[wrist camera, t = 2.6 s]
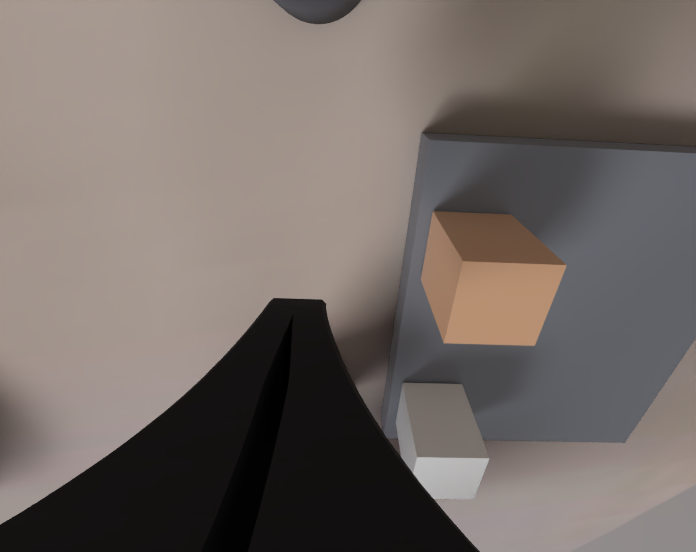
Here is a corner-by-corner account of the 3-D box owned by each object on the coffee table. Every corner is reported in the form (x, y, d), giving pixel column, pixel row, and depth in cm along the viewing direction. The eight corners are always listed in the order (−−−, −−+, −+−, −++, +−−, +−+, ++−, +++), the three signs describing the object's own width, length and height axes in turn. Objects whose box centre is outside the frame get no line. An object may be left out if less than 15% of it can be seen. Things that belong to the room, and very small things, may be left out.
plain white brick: (450, 423, 20) (473, 499, 17) (395, 422, 20) (407, 498, 16) (462, 384, 18) (489, 458, 15) (402, 382, 18) (416, 457, 15)
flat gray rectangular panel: (608, 420, 23) (624, 442, 21) (380, 416, 22) (383, 438, 21) (774, 150, 14) (816, 159, 13) (421, 132, 14) (429, 140, 13)
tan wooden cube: (491, 281, 15) (535, 345, 12) (420, 279, 15) (443, 343, 12) (510, 214, 14) (566, 265, 10) (432, 211, 14) (463, 261, 10)
